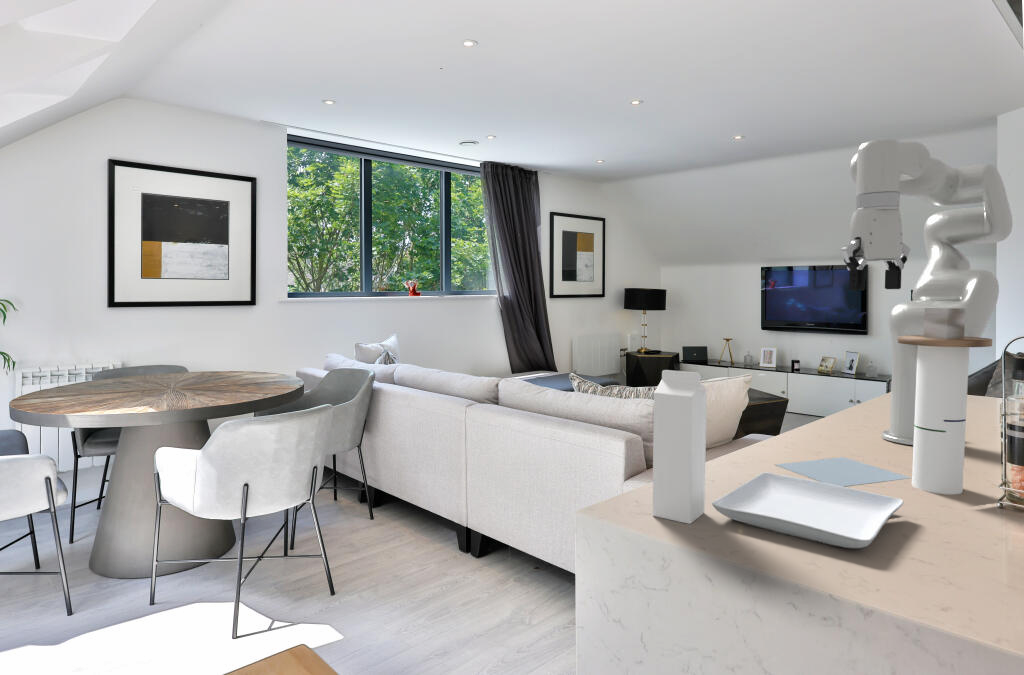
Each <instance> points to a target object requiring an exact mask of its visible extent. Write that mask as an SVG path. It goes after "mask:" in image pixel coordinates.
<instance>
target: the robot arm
mask: <svg viewBox="0 0 1024 675" xmlns="http://www.w3.org/2000/svg"><path fill="white" fill-rule="evenodd" d="M849 174H850V177H851V179H852V181H853V182H854V183H855V184H856V194H855V195H856V200H855V203H856V204H855V211H853V213H852V216H851V220H850V225H849V232H848V242H847V244H846V245H844V246H843V247H841V248H840V251H841V254H842V258H843V262H844V263H845V264H846V269H847V271H849V280H848V281H849V284H848V285H849V289H848V290H849V291H865V289H866V275H867V274H866V269H864V267H865V266H866V265H867V263H868V262H875V261H877V262H879V261H883V263H884V264H885V266H886V267H887V269H885V271H884V277H885V278H884V289H885V290H900V289H902V270H903V269H904V268H905V263H906V262H907V261H908V256H909V253H910V251H911V248H910V246H907V245H906V243H904V242H903V225H902V216H901V210H900V199H901V198H900V196H905V197H906V196H907V197H915V198H918V199H920V200H923V201H925V202H927V203H929V204H930V205H933V206H936V207H937V206H938V207H950V206H951V207H953V206H960V205H961V206H962V205H971V204H972V205H973V204H982V205H983V206H977V207H976V206H974V207H966V208H956V209H948V210H947V209H946V210H942V211H938V212H936V213H933V214H932V215H930V216H929V217H928V218H927V219H926V221H925V223H924V226H923V241H924V247H925V248H924V249H925V253H926V257H927V264H926V265H925V267H924V268H923V270H922V272H921V274H920V276H919V278H918V279H917V282H916V283H915V285H914V287H913V290H912V294H911V296H912V297H911V298H912V300H908V301H902V302H899V303H898V304H896V305H895V306H893V307H892V309H891V310H890V312H889V315H888V325H889V332H890V339H891V347H892V349H891V350H892V354H891V356H892V357H891V358H892V360H891V361H892V362H891V385H890V411H889V412H890V413H889V415H890V416H889V429H886V430H883V431H882V432H881V438H882V439H883V440H886V441H889V442H892V443H896V444H901V445H908V446H909V445H910V446H913V445H914V425H915V424H914V421H915V397H916V373H917V349H918V345H908V344H901V343H898V336H907V335H924V312H925V308H965V330H964V336H965V337H980V338H982V336H983V333H984V332H985V329H986V327H987V325H988V322H989V321H990V319H991V316H992V314H993V312H994V310H995V308H996V306H997V303H998V300H999V293H1000V286H999V281H998V279H997V277H996V275H995V274H994V273H992V272H990V271H988V270H986V269H971V263H970V261H969V259H968V258H967V257H966V255H964V253H963V252H961V251H960V250H959V249H958V248H956V247H955V246H960V245H961V246H962V245H964V246H965V245H979V244H980V245H981V244H995V243H999V242H1002V241H1005V240H1006V239H1007V238H1009V236H1010V235H1011V234H1012V230H1013V215H1012V211H1011V207H1010V204H1009V201H1008V195H1007V190H1006V188H1005V184H1004V182H1003V178H1002V176H1001V174H1000V172H999V171H998V169H997V168H996V167H995V166H994V165H992V164H991V163H981V164H972V165H966V166H960V167H959V166H958V167H952V166H950V165H948V164H947V163H945V162H943V161H941V160H940V159H937V158H935V157H931V154H930V151H929V149H928V148H927V146H926V145H924V144H923V143H922V142H918V141H912V140H910V141H899V140H897V139H895V138H879V139H873V140H868V141H865V142H863V143H861V145H859V147H858V149H857V153H856V154H854V156H853V157H852V158H851V161H850V164H849Z"/></svg>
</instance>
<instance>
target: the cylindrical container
mask: <svg viewBox="0 0 1024 675" xmlns="http://www.w3.org/2000/svg"><path fill="white" fill-rule="evenodd" d="M969 361H970V347H938V346H920V345H918V349H917V373H916V397H915V421H914V424H915V425H914V445H912V447H913V448H912V451H913V454H912V469H911V470H912V473H911V475H912V476H911V486H912V487H913V488H915V489H918V490H921V491H922V492H923V491H924V492H928V493H931V494H932V493H934V494H939V495H959V494H962V493H963V489H964V488H963V487H964V486H963V485H964V466H965V447H966V446H965V445H966V428H967V426H966V424H967V422H966V421H967V404H968V403H967V402H968V384H969V383H968V382H969V365H970V364H969Z"/></svg>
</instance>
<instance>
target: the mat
mask: <svg viewBox="0 0 1024 675" xmlns="http://www.w3.org/2000/svg"><path fill="white" fill-rule="evenodd" d="M774 466H775V467H779V468H782V469H785V470H786V471H787V470H788V471H790V472H793V473H795V474H798V475H800V476H804V477H806V478H808V479H810V480H813V481H818V482H823V483H828V484H833V485H838V486H843V487H852V486H860V485H861V486H862V485H869V484H876V483H883V482H884V483H885V482H891V481H892V482H893V481H899V480H900V481H901V480H907V479H908V480H909V479H912V476H907V475H903V474H901V473H897V472H894V471H891V470H887V469H884V468H880V467H877V466H874V465H872V464H871V465H870V464H868V463H864V462H860V461H858V460H855V459H851V458H848V457H845V456H841V457H833V458H824V459H812V460H803V461H797V462H796V461H795V462H786V463H777V464H774Z"/></svg>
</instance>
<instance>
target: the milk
mask: <svg viewBox="0 0 1024 675" xmlns="http://www.w3.org/2000/svg"><path fill="white" fill-rule="evenodd" d="M707 396H708V395H707V390H706V388H705V387H704V386H703V385H702V383H701V374H700V372H696V371H684V370H683V371H681V370H672V369H671V370H670V369H663V370H662V371H661V380H660V382H659V384H658V385H657V387H656V389H655V390H654V392H653V438H652V439H653V445H652V446H653V448H652V452H653V455H652V517H657V518H660V519H664V520H671V521H675V522H680V523H684V524H687V525H691V524H692V523H693V522H694V521H696V520H697V519H698V518H700V516H703V514H705V504H706V503H705V499H706V498H705V497H706V495H705V494H706V493H705V492H706V490H705V489H706V451H707V450H706V449H707V448H706V445H707V444H706V440H707V439H706V438H707V433H706V432H707Z"/></svg>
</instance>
